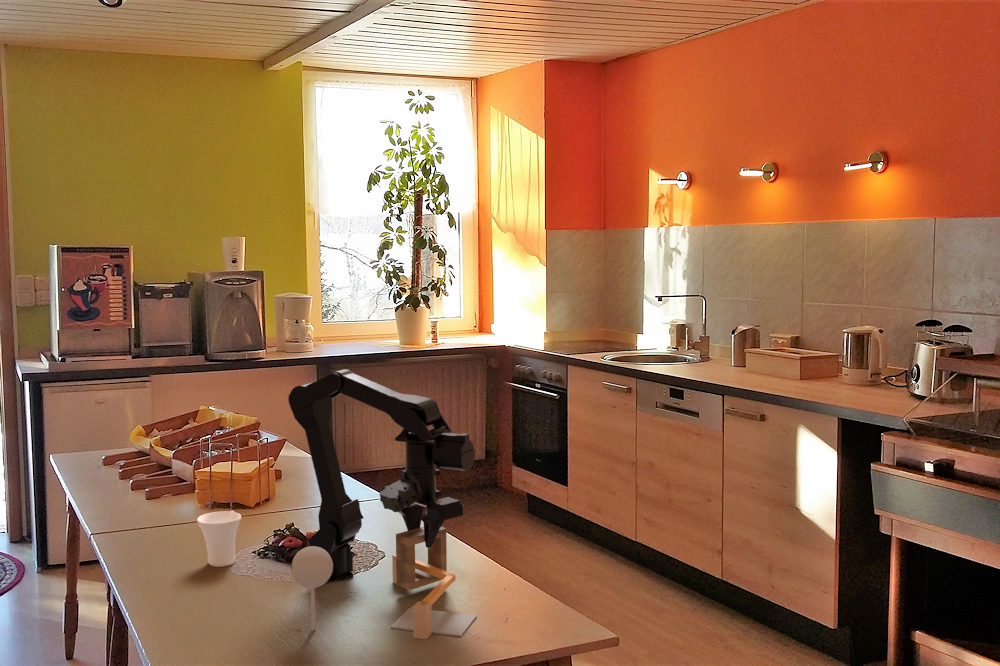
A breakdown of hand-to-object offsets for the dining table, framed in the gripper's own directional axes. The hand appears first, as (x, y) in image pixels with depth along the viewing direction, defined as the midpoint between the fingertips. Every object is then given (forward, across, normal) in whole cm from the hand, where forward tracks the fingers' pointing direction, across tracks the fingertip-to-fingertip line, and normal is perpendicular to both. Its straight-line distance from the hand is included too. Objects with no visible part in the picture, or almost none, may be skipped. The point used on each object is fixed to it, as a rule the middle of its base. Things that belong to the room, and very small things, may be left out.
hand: (421, 544), depth 190 cm
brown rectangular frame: (+7, 0, 0) cm, 7 cm away
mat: (+9, +13, -8) cm, 18 cm away
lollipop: (+10, +1, -25) cm, 27 cm away
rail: (+9, +5, -5) cm, 12 cm away
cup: (+10, -42, -20) cm, 47 cm away
